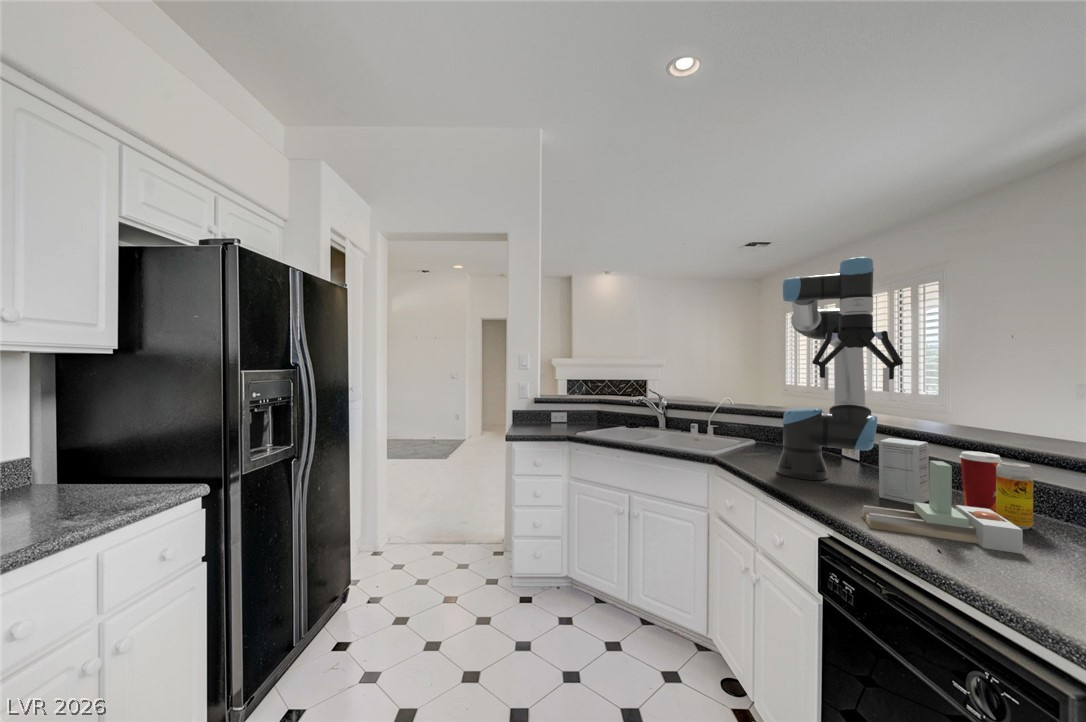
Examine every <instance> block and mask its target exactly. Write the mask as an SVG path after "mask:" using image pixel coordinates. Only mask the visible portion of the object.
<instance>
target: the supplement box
mask: <svg viewBox="0 0 1086 722" xmlns="http://www.w3.org/2000/svg"><path fill="white" fill-rule="evenodd" d="M929 451H930V450H929V442H927V441H922V440H921V441H920V440H912V439H911V440H910V439H905V438H904V439H903V438H893V437H888V438H884V439H882V440H881V439H880V440H879V441H878V471H879V472H878V497H879V498H880V499H884V500H885V499H886V500H890V501H895V502H900V503H904V504H910V505H913V506H914V502H917V503H925V504H926V502H929V459H930V457H929V454H930V453H929Z"/></svg>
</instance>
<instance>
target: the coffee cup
mask: <svg viewBox="0 0 1086 722" xmlns="http://www.w3.org/2000/svg"><path fill="white" fill-rule="evenodd" d="M959 458H960V463H961V464H960V466H961V478H962V479H961V482H962V492H963V493H962V494H963V503H964V504H963V506H968V507H977V508H985V509H990V510H992V511H993V512H995V511H996V466H997V465H998V463H999V462H1004V461H1003V460H1002V458H1001V456H1000V455H999V454H995V453H991V452H990V453H989V452H984V451H983V452H982V451H975V450H974V451H973V450H965V451H964V450H963V451H961V453H960V454H959ZM995 513H996V512H995Z"/></svg>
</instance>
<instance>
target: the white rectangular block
mask: <svg viewBox="0 0 1086 722" xmlns="http://www.w3.org/2000/svg"><path fill="white" fill-rule="evenodd" d="M955 509H956V510H957V511H958V512H960V513H961V514H962V515H964V516H965V517H966V518H968V519H969V526H973V527H975V528H976V536H978V545H979V546H980V547H982V548H983V549H986V550H987V549H988V550H995V551H1001V552H1008V553H1015V554H1023V544H1024V543H1023V541H1024V540H1023V536H1024V535H1023V533H1024V532H1023V530H1024V529H1020V528H1019V527H1017V526H1016V525H1014V524H1012V523H1011V522H1009V521H1008V520H1006V519H1005V518H1003V517H1001V516H1000V515H998V514H997V513H996V512H993V511H992V510H990V509H985V508H977V507H968V506H965V505H960V504H955ZM974 511H983V512H989V513H993V514H996V515H998V516H1000V521H995V520H987V519H979V518H976V517H974Z"/></svg>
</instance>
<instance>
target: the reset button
mask: <svg viewBox="0 0 1086 722" xmlns="http://www.w3.org/2000/svg"><path fill="white" fill-rule="evenodd" d="M974 517H976V518H979V519H987V520H995V521H1000V516H998V515H996V514H993V513H989V512H983V511H974Z"/></svg>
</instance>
